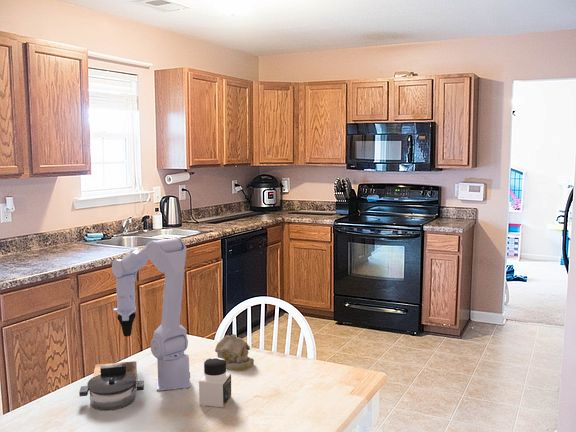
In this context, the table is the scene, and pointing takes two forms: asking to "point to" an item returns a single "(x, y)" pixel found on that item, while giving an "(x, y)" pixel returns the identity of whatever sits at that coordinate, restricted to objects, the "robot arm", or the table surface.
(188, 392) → the table surface
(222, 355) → the ceramic model
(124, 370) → the lid
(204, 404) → the medicine bottle
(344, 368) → the table surface
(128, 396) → the cooker
